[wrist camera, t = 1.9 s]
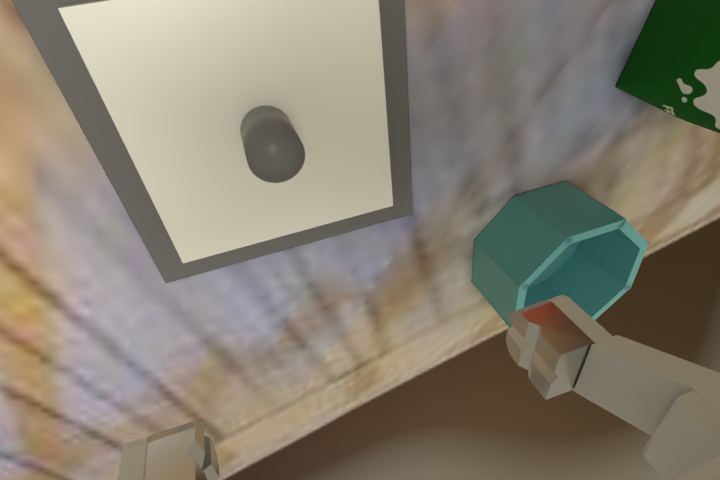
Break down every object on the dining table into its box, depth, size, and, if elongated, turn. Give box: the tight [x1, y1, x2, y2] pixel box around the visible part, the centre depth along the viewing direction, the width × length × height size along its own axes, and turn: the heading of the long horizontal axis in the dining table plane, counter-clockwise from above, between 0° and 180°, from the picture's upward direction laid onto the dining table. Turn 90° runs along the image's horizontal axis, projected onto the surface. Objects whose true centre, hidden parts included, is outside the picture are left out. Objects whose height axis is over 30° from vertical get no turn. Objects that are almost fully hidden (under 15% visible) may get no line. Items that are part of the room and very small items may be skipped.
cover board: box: [58, 0, 393, 263], centre depth 25 cm, size 16×16×5 cm
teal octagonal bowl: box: [471, 181, 649, 328], centre depth 39 cm, size 13×13×7 cm
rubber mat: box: [12, 0, 412, 283], centre depth 27 cm, size 20×20×1 cm
